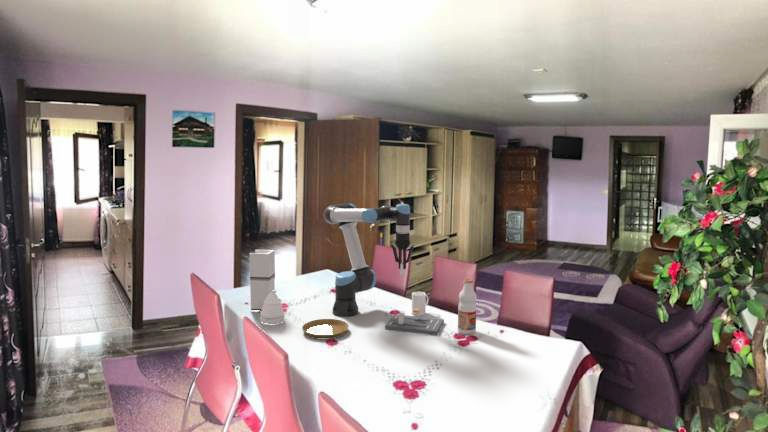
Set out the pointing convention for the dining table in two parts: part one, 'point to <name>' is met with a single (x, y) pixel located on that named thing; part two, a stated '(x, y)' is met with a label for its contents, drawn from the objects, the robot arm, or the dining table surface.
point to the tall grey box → (261, 276)
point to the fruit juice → (467, 309)
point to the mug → (419, 302)
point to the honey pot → (272, 309)
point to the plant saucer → (337, 325)
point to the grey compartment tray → (415, 325)
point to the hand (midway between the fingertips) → (402, 274)
